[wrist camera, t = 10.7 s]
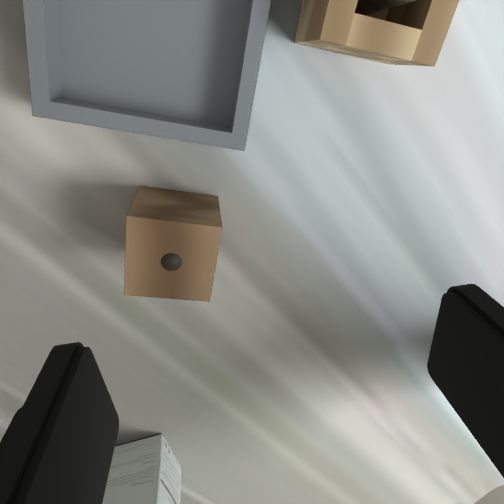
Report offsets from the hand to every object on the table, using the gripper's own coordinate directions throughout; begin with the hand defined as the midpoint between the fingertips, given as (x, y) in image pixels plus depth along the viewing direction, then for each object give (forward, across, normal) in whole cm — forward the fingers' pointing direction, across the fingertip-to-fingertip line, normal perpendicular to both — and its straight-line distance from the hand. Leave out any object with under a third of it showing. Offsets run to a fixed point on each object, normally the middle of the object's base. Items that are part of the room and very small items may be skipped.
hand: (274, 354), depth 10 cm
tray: (+20, +3, -9) cm, 23 cm away
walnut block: (+20, +5, +5) cm, 21 cm away
